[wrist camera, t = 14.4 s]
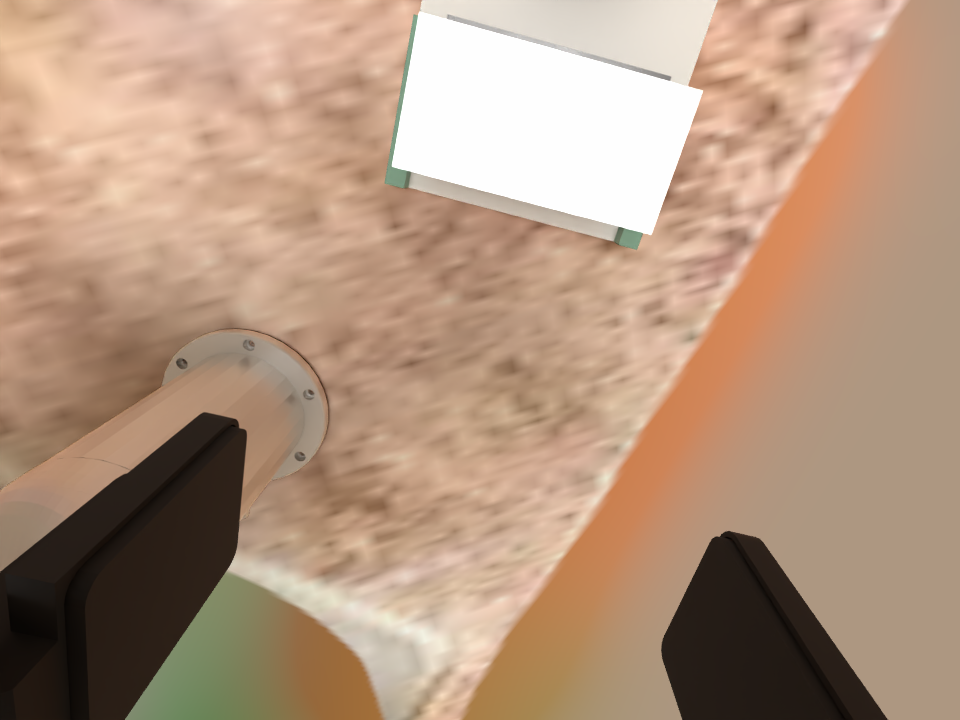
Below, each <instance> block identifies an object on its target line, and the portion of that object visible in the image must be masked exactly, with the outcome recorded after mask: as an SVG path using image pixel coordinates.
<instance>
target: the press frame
mask: <svg viewBox="0 0 960 720" xmlns="http://www.w3.org/2000/svg"><path fill="white" fill-rule="evenodd" d="M717 1H718V0H422V3H421V8H420V12H422V13H426V14H429V15H433V16H436V17H440V18H443V19H447V14H449V15H452V16H456V17H459V18H463V19H467V20H470V21H474V22H477V23H481V24H485V25H488V26H492V27H495V28H499V29H503V30H506V31H510V32H513V33H517V34H521V35H524V36H528V37H531V38H535V39H538V40H542V41H546V42H549V43H553V44H556V45H560V46H564V47H567V48H571V49H574V50H578V51H582V52H585V53H589V54H592V55H596V56H600V57H603V58H607V59H610V60H614V61H617V62H621V63H625V64H628V65H632V66H635V67H639V68H643V69H646V70H650V71H653V72H657V73H661V74H664V75H668V76H671V80H670V82H674V83H677V84H681V85H684V86H688V84H689V81H690V78H691V75H692V72H693V69H694V67H695V64H696V61H697V58H698V55H699V52H700V49H701V47H702V44H703V41H704V38H705V35H706V32H707V29H708V27H709V24H710V21H711V18H712V15H713V12H714V9H715V7H716V4H717ZM418 17H419V16H418V15H414V16H413V22H412V28H411V33H410V39H409V45H408V51H407V57H406V62H405V68H404V74H403V80H402V86H401V91H400V97H399V103H398V109H397V114H396V120H395V126H394V132H393V138H392V143H391V149H390V155H389V161H388V166H387V172H386V178H385V184H389V185H392V186H396V187H400V188H412V189H416V190H419V191H423V192H427V193H431V194H435V195H438V196H442V197H446V198H450V199H454V200H457V201H461V202H465V203H469V204H473V205H476V206H480V207H484V208H488V209H492V210H495V211H499V212H503V213H507V214H511V215H514V216H518V217H522V218H526V219H530V220H533V221H537V222H541V223H545V224H549V225H552V226H556V227H560V228H564V229H568V230H571V231H575V232H579V233H583V234H587V235H590V236H594V237H598V238H602V239H606V240H609V241H613V242H615V243H616V244H618V245H621V246H624V247H628V248H632V249H636V250H637V248H638V246H639V243H640V240H641V237H642V234H643V233H642V232H638V231H635V230H631V229H627V228H623V227H619V226H616V225H612V224H608V223H604V222H601V221H597V220H593V219H589V218H585V217H582V216H578V215H574V214H570V213H567V212H563V211H559V210H555V209H551V208H548V207H544V206H540V205H536V204H532V203H529V202H525V201H521V200H517V199H514V198H510V197H506V196H502V195H498V194H495V193H491V192H487V191H483V190H480V189H476V188H472V187H468V186H464V185H461V184H457V183H453V182H449V181H446V180H442V179H438V178H434V177H430V176H427V175H423V174H419V173H415V172H412V171H408V170H404V169H400V168H396V167H393V166H392V164H393V159H394V153H395V147H396V142H397V136H398V130H399V125H400V119H401V113H402V107H403V102H404V96H405V90H406V85H407V79H408V73H409V68H410V62H411V56H412V51H413V45H414V39H415V34H416V28H417V22H418Z"/></svg>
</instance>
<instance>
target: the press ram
mask: <svg viewBox="0 0 960 720" xmlns="http://www.w3.org/2000/svg"><path fill="white" fill-rule="evenodd" d="M670 80H671V76H668V75H664V74H661V73H657V72H653V71H650V70H646V69H643V68H639V67H635V66H632V65H628V64H625V63H621V62H617V61H614V60H610V59H607V58H603V57H600V56H596V55H592V54H589V53H585V52H582V51H578V50H574V49H571V48H567V47H564V46H560V45H556V44H553V43H549V42H546V41H542V40H538V39H535V38H531V37H528V36H524V35H521V34H517V33H513V32H510V31H506V30H503V29H499V28H495V27H492V26H488V25H485V24H481V23H477V22H474V21H470V20H467V19H463V18H459V17H456V16H452V15H449V14H447V19H443V18H440V17H436V16H433V15H429V14H426V13H422V12H419V17H418V22H417V28H416V34H415V39H414V45H413V51H412V56H411V62H410V68H409V73H408V79H407V85H406V90H405V96H404V102H403V107H402V113H401V119H400V125H399V130H398V136H397V142H396V147H395V153H394V159H393V164H392V166H393V167H396V168H400V169H404V170H408V171H412V172H415V173H419V174H423V175H427V176H430V177H434V178H438V179H442V180H446V181H449V182H453V183H457V184H461V185H464V186H468V187H472V188H476V189H480V190H483V191H487V192H491V193H495V194H498V195H502V196H506V197H510V198H514V199H517V200H521V201H525V202H529V203H532V204H536V205H540V206H544V207H548V208H551V209H555V210H559V211H563V212H567V213H570V214H574V215H578V216H582V217H585V218H589V219H593V220H597V221H601V222H604V223H608V224H612V225H616V226H619V227H623V228H627V229H631V230H635V231H638V232H642V233H646V234H650V235H651V234H652V231H653V228H654V226H655V223H656V220H657V217H658V215H659V212H660V209H661V206H662V204H663V201H664V198H665V195H666V192H667V190H668V187H669V184H670V181H671V179H672V176H673V173H674V170H675V168H676V165H677V162H678V159H679V156H680V154H681V151H682V148H683V145H684V143H685V140H686V137H687V134H688V132H689V129H690V126H691V123H692V120H693V118H694V115H695V112H696V109H697V107H698V104H699V101H700V98H701V96H702V93H703V91H702V90H699V89H695V88H692V87H688V86H684V85H681V84H677V83H674V82H670Z"/></svg>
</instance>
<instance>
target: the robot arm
mask: <svg viewBox="0 0 960 720" xmlns="http://www.w3.org/2000/svg"><path fill="white" fill-rule="evenodd" d="M252 341H253V343H254V344H253V343H252ZM310 390H312V391H313V392H311V391H310ZM328 419H329V418H328V404H327V400H326V396H325V393H324V390H323V388H322V385H321V383H320V381H319V379H318V377H317V376H316V374H315V373H314V371H313V370H312V369H311V367H310V366H309V364H308V363H307V362H306V361H305V360H304V359H303V358H302V357H301V356H300V355H299V354H298V353H297V352H295V351H294V350H292V349H291V348H290V347H288V346H287V345H285V344H284V343H282V342H280V341H278V340H276V339H274V338H272V337H270V336H268V335H265V334H262V333H258V332H255V331H251V330H242V329H225V330H218V331H214V332H210V333H207V334H204V335H202V336H200V337H198V338H196V339H194V340H192V341H191V342H190V343H188V344H187V345H185V346H184V347H182V348H181V349H180V350H179V351H178V352H177V353H176V354H175V355H174V356H173V358H172V359H171V361H170V363H169V365H168V366H167V368H166V370H165V373H164V377H163V381H162V387H160V388H159V389H157V390H156V391H154V392H153V393H151V394H150V395H148V396H146V397H145V398H143V399H142V400H140V401H139V402H137V403H135V404H134V405H132V406H131V407H129V408H128V409H126V410H125V411H123V412H121V413H120V414H118V415H117V416H115V417H114V418H112V419H110V420H109V421H107V422H106V423H104V424H103V425H101V426H100V427H98V428H96V429H95V430H93V431H92V432H90V433H89V434H87V435H86V436H84V437H82V438H81V439H79V440H78V441H76V442H75V443H73V444H71V445H70V446H68V447H67V448H65V449H64V450H62V451H61V452H59V453H57V454H56V455H54V456H53V457H51V458H50V459H48V460H46V461H45V462H43V463H42V464H40V465H38V466H36V467H35V468H33V469H31V470H30V471H28V472H27V473H25V474H24V475H22V476H21V477H19V478H18V479H16V480H15V481H13V482H12V483H10V484H9V485H7V486H6V487H5V488H3V489H2V490H1V491H0V720H125V718H126V717H127V716H128V714H129V713H130V711H131V710H132V708H133V707H134V705H135V704H136V702H137V701H138V699H139V698H140V696H141V695H142V693H143V692H144V691H145V689H146V688H147V686H148V685H149V683H150V682H151V680H152V679H153V677H154V676H155V675H156V673H157V672H158V670H159V669H160V667H161V666H162V664H163V663H164V661H165V660H166V658H167V657H168V656H169V654H170V653H171V651H172V650H173V648H174V647H175V645H176V644H177V642H178V641H179V639H180V638H181V637H182V635H183V633H184V632H185V631H186V629H187V628H188V626H189V625H190V623H191V622H192V620H193V619H194V617H195V616H196V614H197V613H198V612H199V610H200V609H201V607H202V606H203V604H204V603H205V601H206V600H207V598H208V597H209V596H210V594H211V593H212V591H213V590H214V588H215V587H216V585H217V584H218V582H219V581H220V579H221V578H222V577H223V575H224V574H225V572H226V571H227V569H228V568H229V566H230V564H231V563H232V560H233V558H234V556H235V553H236V549H237V543H238V532H239V522H240V520H242V519H245V518H247V517H248V516H249V511H250V507H251V506H252V504H253V503H254V502H255V500H256V499H257V498H258V496H259V495H260V494H261V492H262V491H263V490H264V488H265V487H266V486H267V484H268V483H269V482H270V481H271V480H275V479H280V478H284V477H286V476H288V475H290V474H293V473H295V472H296V471H298V470H299V469H301V468H302V467H303V466H305V465H306V464H307V463H308V462H309V461H310V460H311V458H312V457H313V456H314V455H315V454H316V452H317V450H318V449H319V447H320V446H321V444H322V442H323V439H324V437H325V434H326V432H327V425H328ZM661 651H662V659H663V662H664V665H665V668H666V671H667V674H668V677H669V680H670V683H671V687H672V690H673V692H674V696H675V698H676V702H677V705H678V708H679V711H680V714H681V717H682V720H887V718H886V717H885V715H884V714H883V712H882V711H881V709H880V708H879V707H878V705H877V704H876V702H875V701H874V699H873V698H872V696H871V695H870V694H869V692H868V691H867V690H866V688H865V686H864V685H863V684H862V682H861V681H860V679H859V678H858V677H857V675H856V674H855V672H854V671H853V669H852V668H851V667H850V665H849V664H848V662H847V661H846V660H845V658H844V657H843V655H842V654H841V653H840V651H839V650H838V648H837V647H836V645H835V644H834V642H833V641H832V640H831V638H830V637H829V635H828V634H827V633H826V631H825V630H824V628H823V627H822V625H821V624H820V623H819V621H818V620H817V618H816V617H815V615H814V614H813V613H812V611H811V610H810V608H809V607H808V605H807V604H806V603H805V601H804V600H803V598H802V597H801V596H800V594H799V593H798V591H797V590H796V588H795V587H794V586H793V584H792V583H791V581H790V580H789V578H788V577H787V576H786V574H785V573H784V571H783V570H782V568H781V567H780V566H779V564H778V563H777V561H776V560H775V558H774V557H773V556H772V554H771V553H770V551H769V550H768V549H767V547H766V546H765V544H764V543H763V542H762V541H761V540H760V539H759V538H756V537H753V536H748V535H744V534H740V533H735V532H731V531H727V532H724V533H723V534H721V536H720V537H714V538H713V539H712V540H711V542H710V543H709V545H708V547H707V549H706V552H705V554H704V556H703V558H702V560H701V562H700V564H699V566H698V568H697V570H696V572H695V574H694V576H693V578H692V580H691V582H690V584H689V586H688V588H687V590H686V592H685V594H684V597H683V599H682V601H681V603H680V605H679V607H678V609H677V611H676V613H675V615H674V617H673V619H672V621H671V623H670V626H669V627H668V629H667V631H666V633H665V635H664V638H663V641H662V649H661Z"/></svg>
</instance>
